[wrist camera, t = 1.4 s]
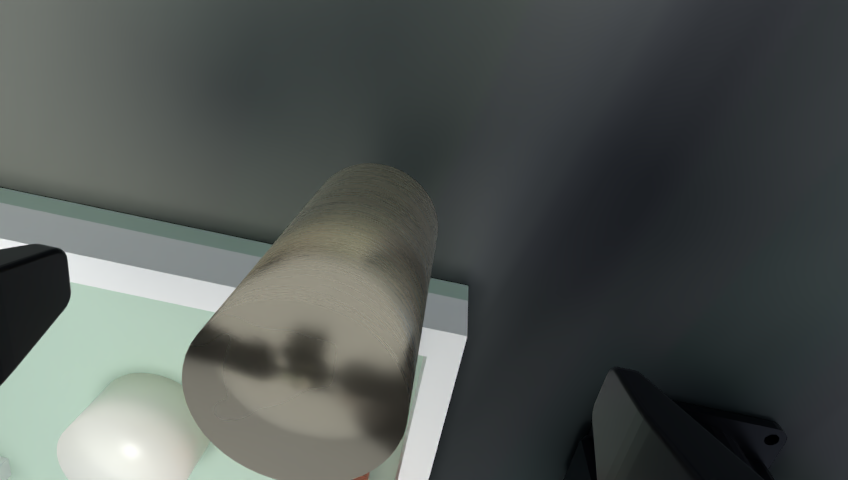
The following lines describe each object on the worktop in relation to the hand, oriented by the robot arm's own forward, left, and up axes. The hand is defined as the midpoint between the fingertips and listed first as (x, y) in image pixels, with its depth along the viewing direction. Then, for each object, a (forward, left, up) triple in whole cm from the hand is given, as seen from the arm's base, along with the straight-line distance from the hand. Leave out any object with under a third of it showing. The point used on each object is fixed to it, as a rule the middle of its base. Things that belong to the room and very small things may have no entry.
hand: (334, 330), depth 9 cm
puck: (+8, +11, -8) cm, 16 cm away
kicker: (0, +9, -7) cm, 12 cm away
